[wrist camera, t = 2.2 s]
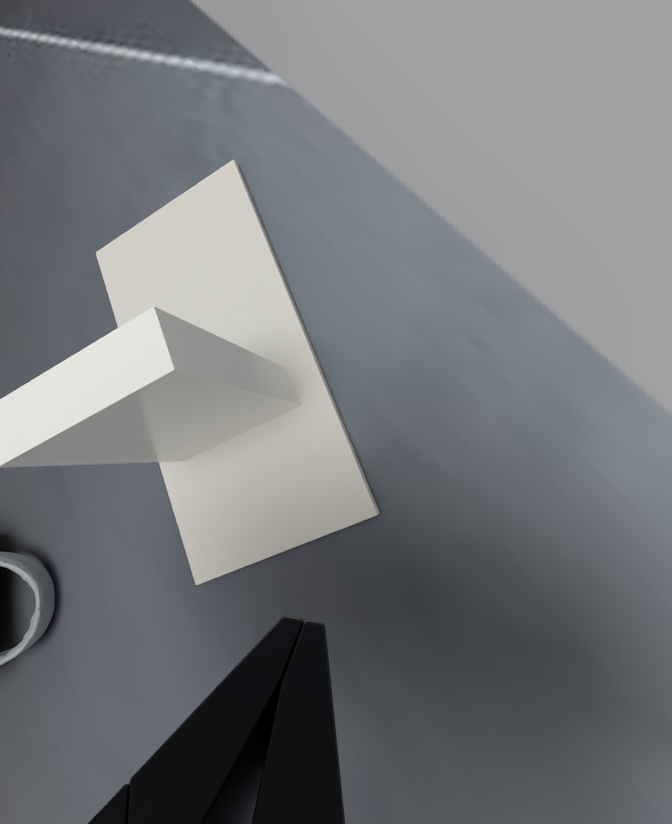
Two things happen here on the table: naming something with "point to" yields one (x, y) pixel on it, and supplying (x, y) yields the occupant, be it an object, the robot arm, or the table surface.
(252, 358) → the tile
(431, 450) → the table surface
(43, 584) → the ceramic mug
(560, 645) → the table surface
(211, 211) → the mat
